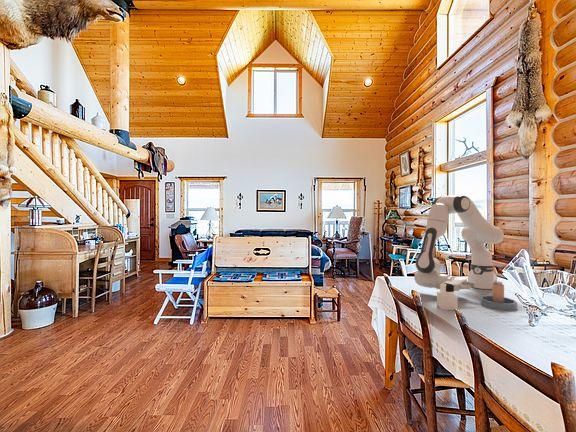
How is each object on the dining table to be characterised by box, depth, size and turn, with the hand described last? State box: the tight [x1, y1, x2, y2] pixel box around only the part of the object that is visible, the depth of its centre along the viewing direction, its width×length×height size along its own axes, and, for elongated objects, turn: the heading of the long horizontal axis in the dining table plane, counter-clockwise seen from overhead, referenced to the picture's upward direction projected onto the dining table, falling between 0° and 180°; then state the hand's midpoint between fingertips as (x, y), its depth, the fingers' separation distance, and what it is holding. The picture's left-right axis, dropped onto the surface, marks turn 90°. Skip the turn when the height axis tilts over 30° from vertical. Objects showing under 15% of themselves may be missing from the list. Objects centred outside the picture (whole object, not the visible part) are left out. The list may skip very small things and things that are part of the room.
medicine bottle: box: [436, 283, 459, 311], centre depth 151 cm, size 7×7×12 cm
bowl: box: [479, 295, 518, 311], centre depth 154 cm, size 15×15×3 cm
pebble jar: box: [491, 280, 505, 303], centre depth 154 cm, size 5×5×12 cm
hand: (472, 286), depth 162 cm, fingers open, 8 cm apart
